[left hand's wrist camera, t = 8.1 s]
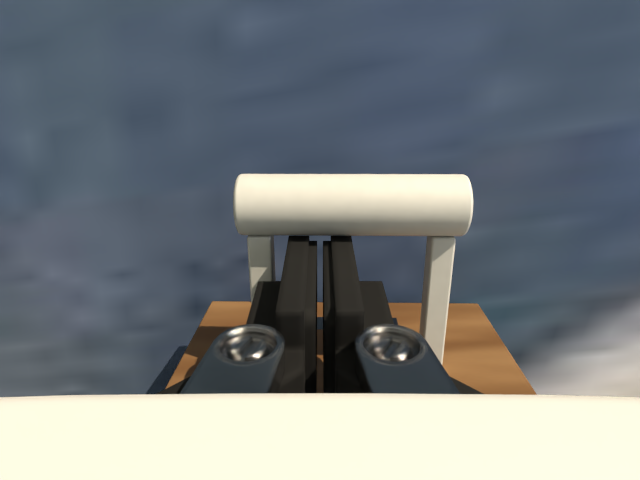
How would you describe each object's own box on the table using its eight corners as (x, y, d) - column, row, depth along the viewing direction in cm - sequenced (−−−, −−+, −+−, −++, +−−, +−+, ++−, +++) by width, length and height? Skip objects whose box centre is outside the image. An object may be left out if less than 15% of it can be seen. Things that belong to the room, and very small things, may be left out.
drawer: (197, 149, 15) (87, 206, 8) (498, 149, 15) (637, 208, 8) (238, 577, 22) (197, 793, 15) (441, 582, 22) (489, 804, 15)
